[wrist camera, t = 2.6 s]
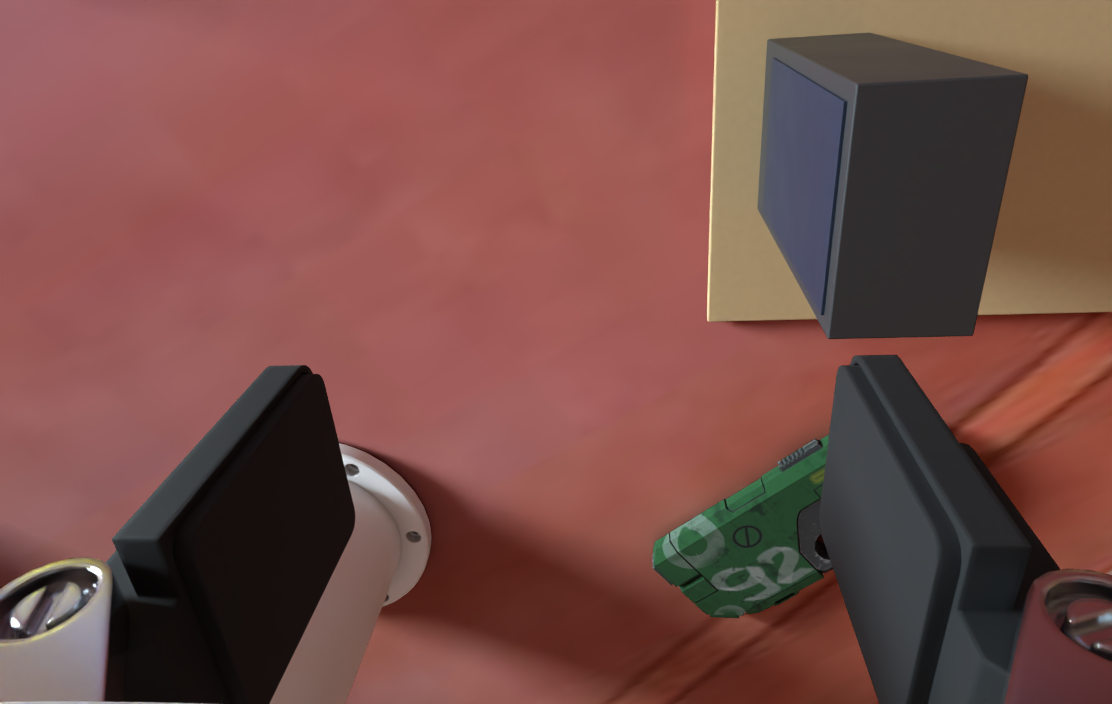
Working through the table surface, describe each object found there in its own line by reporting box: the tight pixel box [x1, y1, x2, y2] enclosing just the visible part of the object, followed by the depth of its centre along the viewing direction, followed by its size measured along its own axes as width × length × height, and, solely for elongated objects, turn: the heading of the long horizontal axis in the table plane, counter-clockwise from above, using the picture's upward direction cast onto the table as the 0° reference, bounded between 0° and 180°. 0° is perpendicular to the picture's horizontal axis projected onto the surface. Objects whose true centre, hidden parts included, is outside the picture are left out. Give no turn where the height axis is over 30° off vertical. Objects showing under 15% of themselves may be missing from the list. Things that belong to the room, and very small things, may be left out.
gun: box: [652, 435, 833, 618], centre depth 41 cm, size 16×2×10 cm
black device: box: [757, 32, 1028, 339], centre depth 25 cm, size 4×7×13 cm, turn 4°
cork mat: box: [707, 0, 1112, 322], centre depth 30 cm, size 20×18×1 cm
